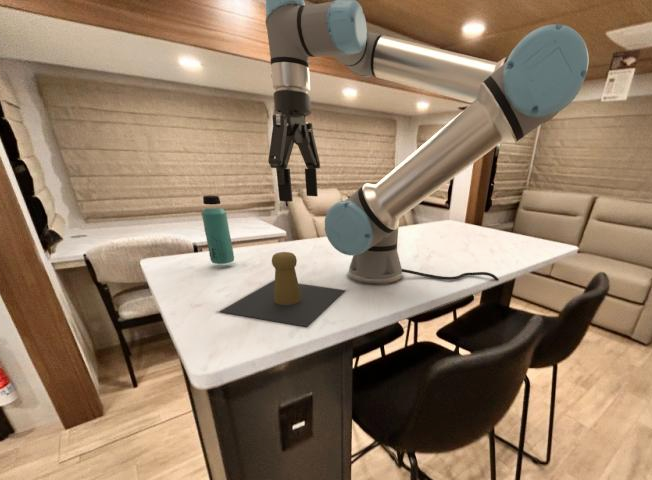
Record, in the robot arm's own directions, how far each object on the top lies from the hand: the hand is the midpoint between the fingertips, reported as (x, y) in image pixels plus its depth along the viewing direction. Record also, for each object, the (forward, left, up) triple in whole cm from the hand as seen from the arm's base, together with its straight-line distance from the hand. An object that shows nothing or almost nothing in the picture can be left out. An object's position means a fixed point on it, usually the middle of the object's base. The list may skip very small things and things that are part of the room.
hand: (300, 198), depth 73 cm
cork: (-2, +12, -21) cm, 24 cm away
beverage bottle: (+29, -4, -22) cm, 37 cm away
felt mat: (-2, +12, -21) cm, 24 cm away
